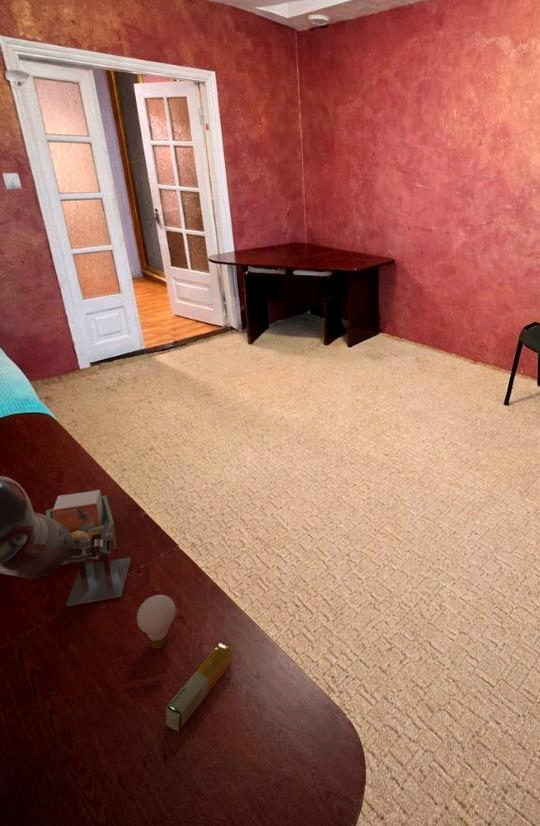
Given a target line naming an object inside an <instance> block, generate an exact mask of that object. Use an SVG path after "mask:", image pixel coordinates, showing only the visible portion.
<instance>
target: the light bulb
mask: <svg viewBox="0 0 540 826" xmlns="http://www.w3.org/2000/svg"><path fill="white" fill-rule="evenodd" d="M176 611H177V610H176V604H175V602H174V600H173V599H172V597H169V596H168V595H165V594H155V595H151V596H150V597H148V598H146V599H145V600H144V601H143V602H142V604H140V606H139V608H138V610H137V613H136V624H137V626H138V628H139V630H141V631H142V632H143V633H145V634H147V636H148V638H149V642H150V647H151V648H152V649H155V650H157V649H161V648H163V647H164V646H166V645H167V643H168V641H169V638H168V636H169V635H168V633H169V629H170V626H171V625H172V623H173V622H174V619H175V617H176Z"/></svg>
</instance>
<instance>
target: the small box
mask: <svg viewBox="0 0 540 826" xmlns="http://www.w3.org/2000/svg"><path fill="white" fill-rule="evenodd" d="M101 492H102V491H101V489H96V490H92V491H85V492H77V493H70V494H61V495H58V496H57V498H56V500H55V504H54V506H53V508H52V509H53V516H54V520H55V521H57V522H59V523H61V524H63V525H64V526H65V527H66V528H67V529H68V530H69V532H70V533H73V532H75V531H79V530H80V527H81V525H87V527H88V529H92V528H95V527H99V526H103V525H104V517H103V509H102V501H101V496H102V494H101Z"/></svg>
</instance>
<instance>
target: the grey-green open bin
mask: <svg viewBox="0 0 540 826" xmlns="http://www.w3.org/2000/svg"><path fill="white" fill-rule="evenodd" d="M101 501H102V509H103V517H104V524H105V522H111V527H112V532H113V543H114V550H115V549H118V545H117V537H116V528H115V523H114V522H115V521H114V519H113V515H112V511H111V507H110V504H109V500H108V497H107V495H101ZM45 516H47V517H49V518H51V519H53V520H54V516H53V508H50V509H49V508H48V509H46V510H45ZM103 527H104V525H103V526H99V527H95V528H92V529H88V533H90V532H98V531H102V530H103ZM72 557H75V555H74V556H72ZM70 558H71V557H70ZM67 564H69V563H64V564H62V565H61V566H64V565H67Z"/></svg>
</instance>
